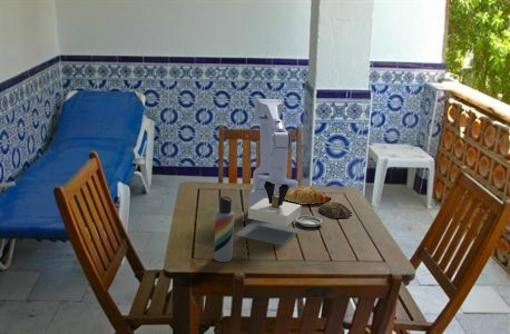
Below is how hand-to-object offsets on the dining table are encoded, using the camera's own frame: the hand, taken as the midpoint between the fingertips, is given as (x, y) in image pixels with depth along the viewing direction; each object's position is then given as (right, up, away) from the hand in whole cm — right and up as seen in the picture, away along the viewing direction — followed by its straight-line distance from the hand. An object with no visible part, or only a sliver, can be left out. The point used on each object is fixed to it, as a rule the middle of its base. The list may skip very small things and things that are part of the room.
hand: (275, 204), depth 192 cm
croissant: (+14, -2, +37) cm, 40 cm away
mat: (-3, -10, +1) cm, 11 cm away
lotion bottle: (-17, -16, -21) cm, 31 cm away
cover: (0, -4, +1) cm, 5 cm away
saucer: (+12, -9, +11) cm, 19 cm away
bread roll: (+25, -6, +25) cm, 36 cm away
